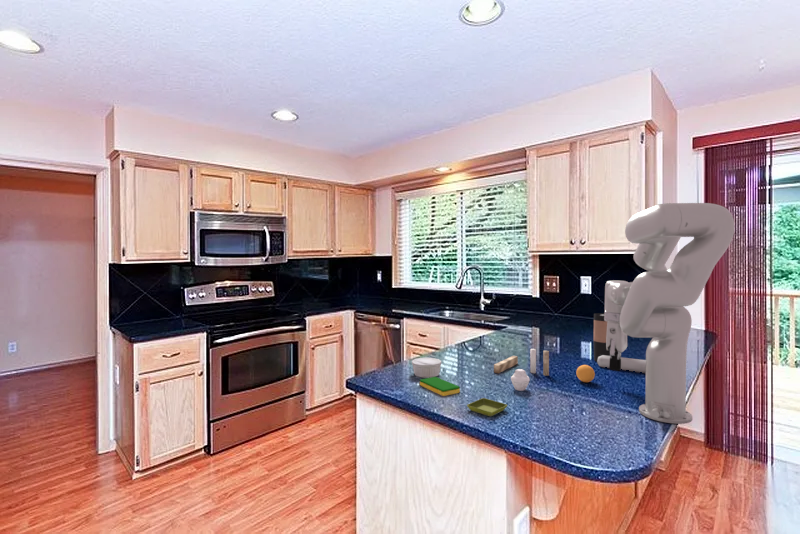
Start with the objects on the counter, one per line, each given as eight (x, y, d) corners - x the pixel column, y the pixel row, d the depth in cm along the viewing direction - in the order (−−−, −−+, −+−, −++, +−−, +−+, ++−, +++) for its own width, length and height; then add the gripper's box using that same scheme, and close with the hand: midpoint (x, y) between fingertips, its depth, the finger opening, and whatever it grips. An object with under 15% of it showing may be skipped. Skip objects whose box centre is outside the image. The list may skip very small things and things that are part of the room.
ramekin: (409, 378, 153) (409, 363, 153) (415, 369, 164) (415, 356, 164) (439, 380, 150) (439, 365, 150) (443, 371, 161) (443, 358, 161)
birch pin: (547, 375, 154) (547, 352, 154) (542, 375, 155) (542, 351, 155) (549, 374, 156) (549, 351, 155) (544, 373, 157) (544, 350, 157)
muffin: (521, 385, 143) (522, 365, 143) (533, 390, 137) (533, 370, 137) (506, 387, 141) (506, 367, 141) (518, 393, 135) (518, 372, 135)
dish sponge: (443, 397, 133) (443, 390, 133) (419, 386, 144) (419, 379, 144) (460, 393, 136) (460, 386, 136) (435, 383, 148) (435, 376, 148)
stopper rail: (498, 373, 158) (498, 365, 158) (493, 372, 159) (493, 364, 159) (517, 363, 172) (517, 356, 172) (513, 362, 173) (513, 355, 173)
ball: (592, 385, 142) (592, 368, 142) (574, 382, 146) (574, 365, 146) (596, 381, 147) (596, 364, 147) (579, 378, 151) (579, 362, 151)
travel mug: (589, 360, 177) (589, 313, 176) (601, 358, 180) (602, 312, 180) (604, 364, 170) (605, 316, 170) (617, 362, 173) (617, 314, 173)
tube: (595, 358, 166) (669, 367, 151) (598, 351, 170) (670, 359, 155) (596, 369, 167) (669, 380, 152) (599, 363, 171) (670, 372, 156)
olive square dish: (466, 411, 120) (466, 404, 120) (483, 404, 126) (483, 397, 126) (491, 420, 114) (491, 412, 114) (508, 411, 120) (508, 404, 120)
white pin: (534, 373, 157) (534, 350, 157) (529, 372, 158) (529, 349, 158) (536, 372, 159) (536, 349, 158) (531, 371, 160) (531, 348, 160)
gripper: (624, 321, 132) (622, 377, 133) (633, 314, 143) (631, 366, 145) (599, 318, 137) (597, 373, 138) (609, 312, 148) (608, 362, 149)
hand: (615, 369), depth 141 cm, fingers closed
